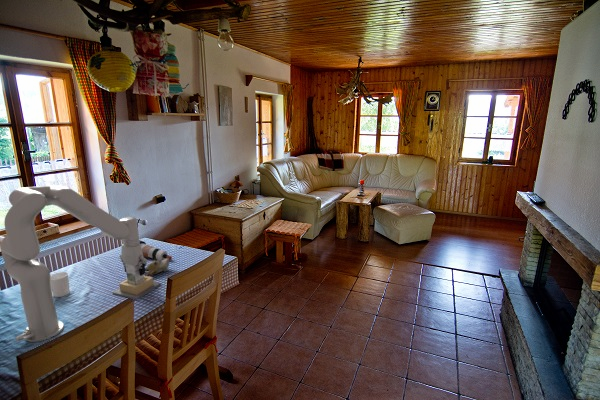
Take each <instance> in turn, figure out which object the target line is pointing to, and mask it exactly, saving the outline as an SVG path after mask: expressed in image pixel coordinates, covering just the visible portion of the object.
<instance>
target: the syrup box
mask: <svg viewBox="0 0 600 400" xmlns="http://www.w3.org/2000/svg"><path fill="white" fill-rule="evenodd" d="M139 262H140V261H139ZM140 265H142V264H141V263H140ZM125 267H126V272H125V273H126V280H128V284H131V285H138V284H140V283H141V282H143V281H145V280H144V275H145V274H143V275H142V276H140V274H139V266H138V265H131V264H125Z"/></svg>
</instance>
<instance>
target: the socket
mask: <svg viewBox="0 0 600 400" xmlns="http://www.w3.org/2000/svg"><path fill="white" fill-rule="evenodd" d="M144 280H145V281H143V282H141V283H140V284H138V285H131V284H128V280H127V279H125V280H124V281H123V280H122V281H121V282H119V285H118V286H119V287H118V288H117V289H115V290H114V291H112V292H111V293H112V294H113V295H115V296H120V297H123V298H127V299H130V298H134V299H133V301H135V300H136V301H138V300H139V299H141V298H143V297H144V296H145V295H148V294H149V293H150V292H152V291H154V290H155V289H156V288H158V287H160V286H161V285H162V283H161V282H160V281H154V277H152V276H144ZM129 297H130V298H129Z"/></svg>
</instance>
